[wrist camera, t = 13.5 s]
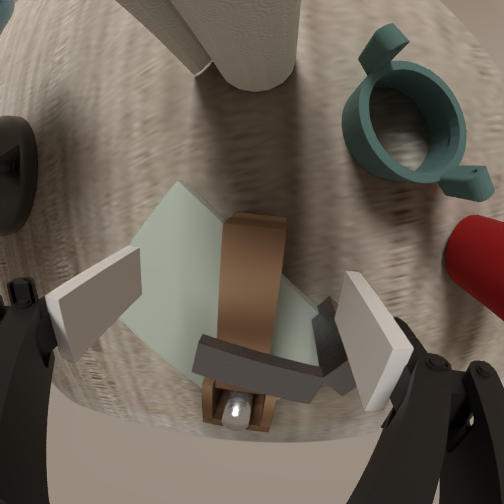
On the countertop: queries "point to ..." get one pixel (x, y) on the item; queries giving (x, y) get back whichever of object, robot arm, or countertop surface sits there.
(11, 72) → the countertop surface
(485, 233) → the beverage can
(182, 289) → the base board
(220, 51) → the paper towel roll
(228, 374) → the keeper
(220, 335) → the link
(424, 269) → the countertop surface
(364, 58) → the teal hollow cylinder
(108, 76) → the countertop surface
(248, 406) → the cylinder
